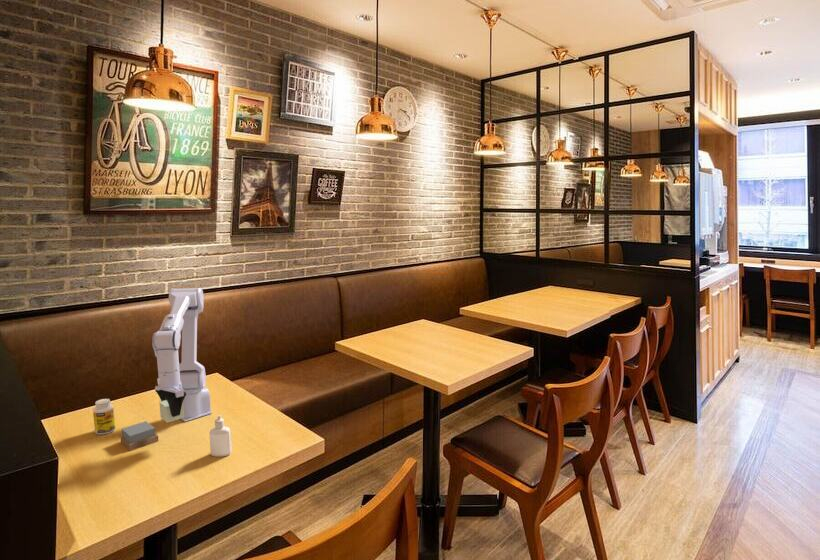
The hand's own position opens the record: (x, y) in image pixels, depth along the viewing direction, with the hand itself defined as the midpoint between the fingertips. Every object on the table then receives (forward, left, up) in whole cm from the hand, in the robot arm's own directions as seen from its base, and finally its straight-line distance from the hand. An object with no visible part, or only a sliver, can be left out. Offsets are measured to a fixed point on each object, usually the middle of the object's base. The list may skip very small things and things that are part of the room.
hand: (172, 412), depth 147 cm
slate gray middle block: (+7, -9, -8) cm, 14 cm away
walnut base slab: (+7, -9, -11) cm, 16 cm away
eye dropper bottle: (-7, +16, -10) cm, 20 cm away
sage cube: (0, 0, -2) cm, 2 cm away
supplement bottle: (+12, -24, -10) cm, 29 cm away
